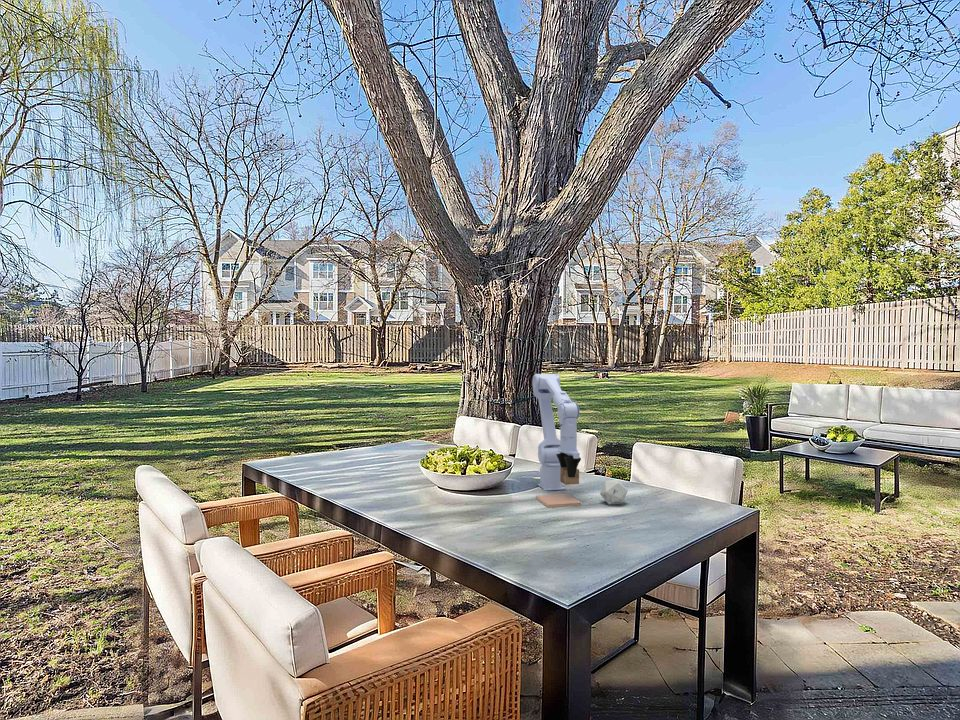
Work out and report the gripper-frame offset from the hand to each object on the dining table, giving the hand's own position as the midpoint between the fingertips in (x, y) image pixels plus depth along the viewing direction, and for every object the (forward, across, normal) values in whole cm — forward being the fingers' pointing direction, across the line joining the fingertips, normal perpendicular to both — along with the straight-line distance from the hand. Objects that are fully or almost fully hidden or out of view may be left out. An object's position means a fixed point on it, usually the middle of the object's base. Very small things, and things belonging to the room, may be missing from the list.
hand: (568, 475), depth 205 cm
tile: (+8, +2, -5) cm, 10 cm away
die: (+9, +9, +13) cm, 18 cm away
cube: (+3, 0, 0) cm, 3 cm away
